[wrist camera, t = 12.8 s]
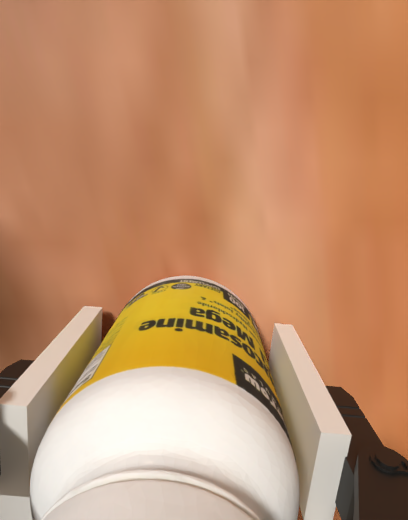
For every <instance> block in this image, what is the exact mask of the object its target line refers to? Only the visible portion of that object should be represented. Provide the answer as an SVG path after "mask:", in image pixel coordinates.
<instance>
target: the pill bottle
mask: <svg viewBox="0 0 408 520" xmlns="http://www.w3.org/2000/svg"><path fill="white" fill-rule="evenodd" d="M299 504H300V483H299V476H298V469H297V464H296V458H295V455H294V451H293V448H292V444H291V440H290V436H289V433H288V430H287V426H286V423H285V420H284V417H283V413H282V409H281V406H280V402H279V399H278V396H277V393H276V389H275V386H274V382H273V379H272V376H271V372H270V368H269V365H268V362H267V358H266V355H265V352H264V348H263V345H262V341H261V338H260V335H259V331H258V328H257V326H256V323H255V321H254V319H253V317H252V315H251V313H250V311H249V309H248V308H247V307H246V305H245V304H244V303H243V302H242V300H241V299H240V298H239V297H238V296H237V295H236V294H234V293H233V292H232V291H231V290H229V289H228V288H226V287H225V286H223V285H221V284H219V283H217V282H215V281H212V280H209V279H206V278H202V277H197V276H175V277H169V278H166V279H162V280H159V281H157V282H154V283H152V284H150V285H149V286H147V287H145V288H144V289H142V290H141V291H140V292H138V293H137V294H136V295H135V296H134V297H133V298H132V299H131V300H130V301H129V302H128V304H127V305H126V306H125V307H124V309H123V310H122V311H121V313H120V314H119V316H118V318H117V319H116V321H115V322H114V324H113V326H112V327H111V328H110V330H109V332H108V333H107V335H106V336H105V338H104V340H103V341H102V343H101V345H100V346H99V348H98V349H97V351H96V353H95V354H94V356H93V357H92V359H91V361H90V362H89V364H88V365H87V367H86V368H85V370H84V372H83V373H82V375H81V376H80V378H79V380H78V381H77V383H76V384H75V386H74V387H73V389H72V390H71V392H70V393H69V395H68V397H67V398H66V400H65V401H64V403H63V404H62V405H61V407H60V409H59V410H58V412H57V413H56V415H55V417H54V418H53V420H52V422H51V423H50V425H49V427H48V429H47V431H46V433H45V435H44V437H43V439H42V441H41V443H40V445H39V448H38V450H37V453H36V456H35V459H34V463H33V467H32V471H31V478H30V508H31V515H32V520H297V518H298V511H299Z"/></svg>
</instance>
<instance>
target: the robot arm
mask: <svg viewBox="0 0 408 520" xmlns="http://www.w3.org/2000/svg"><path fill="white" fill-rule="evenodd" d="M101 343H102V307H92V306H84V307H83V308H82V309H81V310H80V311H79V312H78V313H77V314H76V316H75V317H74V318H73V319H72V320H71V321H70V322H69V323H68V324H67V326H66V327H65V328H64V329H63V330H62V331H61V332H60V333H59V334H58V335H57V337H56V338H55V339H54V340H53V341H52V342H51V343H50V344H49V345H48V346H47V348H46V349H45V350H44V351H43V352H42V353H41V354H40V355H39V356H38V358H37V359H36V360H35V361H31V360H19V361H17V362H16V363H14V364H12V365H10V366H8V367H6V368H5V369H4V370H3V371H2V372H1V373H0V495H8V496H20V497H30V478H31V471H32V467H33V463H34V459H35V456H36V453H37V450H38V448H39V445H40V443H41V441H42V439H43V437H44V435H45V433H46V431H47V429H48V427H49V425H50V423H51V422H52V420H53V418H54V417H55V415H56V413H57V412H58V410H59V409H60V407H61V405H62V404H63V403H64V401H65V400H66V398H67V397H68V395H69V393H70V392H71V390H72V389H73V387H74V386H75V384H76V383H77V381H78V380H79V378H80V376H81V375H82V373H83V372H84V370H85V368H86V367H87V365H88V364H89V362H90V361H91V359H92V357H93V356H94V354H95V353H96V351H97V349H98V348H99V346H100V345H101ZM268 365H269V368H270V372H271V376H272V379H273V382H274V386H275V389H276V393H277V396H278V399H279V402H280V406H281V409H282V413H283V417H284V420H285V423H286V426H287V430H288V433H289V436H290V440H291V444H292V448H293V451H294V455H295V458H296V464H297V469H298V476H299V483H300V504H299V506H300V509H301V513H302V517H303V520H333V517H334V512H335V508H336V506H337V509H338V511H339V514H340V517H341V519H342V520H408V461H407V460H406V459H405V458H404V457H403V456H401V455H400V454H399V453H397V452H396V451H394V450H391V449H389V448H387V447H384V446H383V444H382V442H381V441H380V439H379V438H378V436H377V435H376V433H375V431H374V430H373V428H372V427H371V425H370V423H369V422H368V420H367V419H366V418H365V416H364V414H363V412H362V411H361V410H360V409H359V406H358V405H357V403H356V401H355V400H354V398H353V397H352V396H351V395H350V394H349V393H347V392H346V391H345V390H344V389H342V388H341V387H333V386H325V385H324V383H323V381H322V379H321V377H320V375H319V373H318V372H317V370H316V368H315V366H314V364H313V362H312V360H311V359H310V357H309V355H308V353H307V351H306V349H305V348H304V346H303V344H302V342H301V340H300V338H299V336H298V335H297V333H296V331H295V329H294V327H293V325H289V324H278V323H274V329H273V336H272V342H271V349H270V355H269V362H268Z"/></svg>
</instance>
